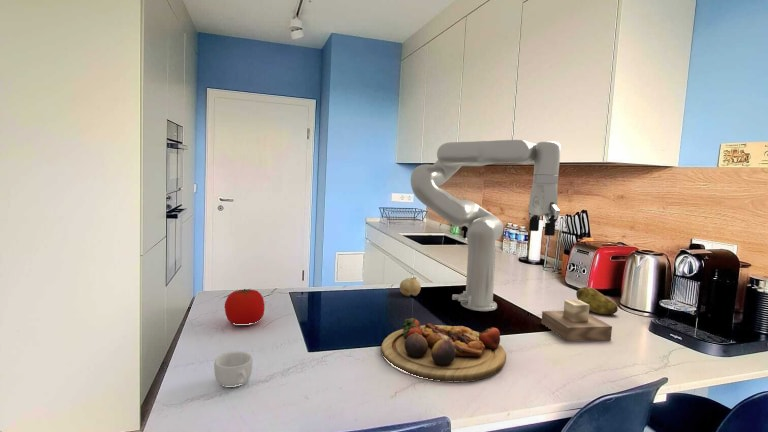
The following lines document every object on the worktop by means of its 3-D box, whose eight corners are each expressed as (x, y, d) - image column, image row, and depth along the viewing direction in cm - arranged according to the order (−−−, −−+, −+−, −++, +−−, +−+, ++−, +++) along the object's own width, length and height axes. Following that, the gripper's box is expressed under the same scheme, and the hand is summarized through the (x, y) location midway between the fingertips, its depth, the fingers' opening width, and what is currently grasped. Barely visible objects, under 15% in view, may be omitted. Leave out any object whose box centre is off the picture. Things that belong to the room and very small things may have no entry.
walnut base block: (566, 341, 120) (567, 327, 120) (541, 323, 134) (542, 311, 134) (610, 339, 123) (612, 326, 122) (581, 322, 136) (582, 310, 136)
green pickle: (606, 319, 141) (608, 296, 140) (571, 307, 151) (573, 286, 150) (619, 315, 145) (622, 292, 144) (584, 304, 156) (586, 283, 155)
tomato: (261, 315, 133) (261, 282, 131) (268, 328, 122) (268, 293, 120) (223, 319, 128) (222, 285, 127) (226, 334, 117) (226, 297, 116)
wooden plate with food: (502, 338, 122) (503, 310, 121) (510, 392, 91) (512, 356, 90) (394, 327, 129) (394, 301, 128) (367, 375, 98) (368, 340, 97)
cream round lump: (416, 299, 155) (417, 280, 154) (396, 296, 158) (397, 278, 157) (422, 293, 162) (423, 275, 162) (402, 291, 165) (403, 273, 164)
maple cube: (573, 321, 125) (574, 305, 125) (563, 315, 130) (564, 300, 130) (588, 321, 126) (589, 305, 125) (577, 315, 131) (579, 299, 130)
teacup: (209, 381, 91) (208, 357, 90) (243, 370, 96) (243, 348, 96) (226, 401, 84) (226, 375, 83) (263, 388, 89) (263, 364, 88)
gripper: (521, 179, 143) (518, 229, 145) (549, 181, 126) (544, 237, 128) (542, 180, 144) (538, 229, 146) (571, 181, 127) (567, 237, 129)
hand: (541, 233), depth 137 cm, fingers open, 9 cm apart
